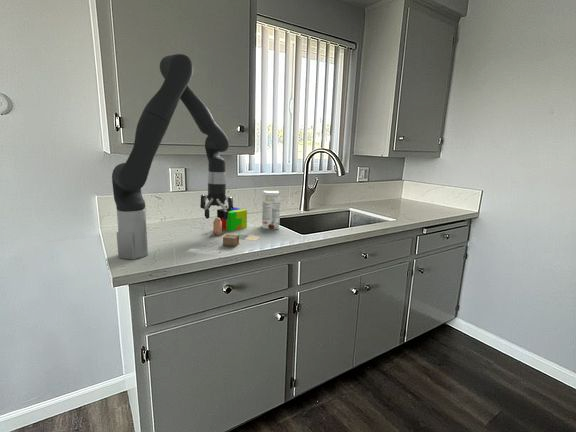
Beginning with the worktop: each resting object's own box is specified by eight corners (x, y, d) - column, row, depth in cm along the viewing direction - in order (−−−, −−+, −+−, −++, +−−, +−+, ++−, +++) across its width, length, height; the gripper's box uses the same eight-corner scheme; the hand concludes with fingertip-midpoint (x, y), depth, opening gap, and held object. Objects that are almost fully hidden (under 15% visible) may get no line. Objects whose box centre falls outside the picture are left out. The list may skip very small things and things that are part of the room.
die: (234, 250, 129) (234, 238, 128) (222, 249, 130) (222, 237, 129) (239, 246, 134) (239, 235, 133) (227, 245, 135) (227, 233, 134)
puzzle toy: (233, 226, 166) (233, 207, 163) (246, 230, 159) (246, 210, 157) (217, 229, 158) (217, 209, 156) (231, 234, 152) (231, 213, 150)
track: (256, 243, 138) (256, 240, 138) (208, 238, 143) (208, 235, 142) (261, 239, 145) (261, 236, 145) (215, 234, 149) (215, 231, 149)
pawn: (218, 236, 143) (218, 218, 141) (211, 234, 144) (211, 217, 143) (223, 234, 146) (223, 217, 145) (216, 232, 148) (216, 216, 146)
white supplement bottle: (279, 231, 159) (280, 192, 155) (261, 231, 158) (262, 192, 154) (278, 227, 166) (279, 190, 162) (261, 227, 166) (262, 190, 161)
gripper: (197, 181, 138) (197, 219, 141) (229, 184, 135) (228, 222, 139) (205, 180, 145) (205, 216, 149) (235, 182, 143) (235, 218, 146)
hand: (216, 219), depth 144 cm, fingers open, 8 cm apart
